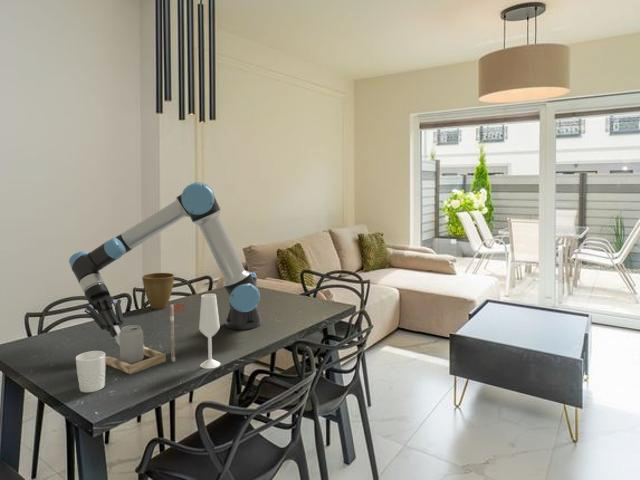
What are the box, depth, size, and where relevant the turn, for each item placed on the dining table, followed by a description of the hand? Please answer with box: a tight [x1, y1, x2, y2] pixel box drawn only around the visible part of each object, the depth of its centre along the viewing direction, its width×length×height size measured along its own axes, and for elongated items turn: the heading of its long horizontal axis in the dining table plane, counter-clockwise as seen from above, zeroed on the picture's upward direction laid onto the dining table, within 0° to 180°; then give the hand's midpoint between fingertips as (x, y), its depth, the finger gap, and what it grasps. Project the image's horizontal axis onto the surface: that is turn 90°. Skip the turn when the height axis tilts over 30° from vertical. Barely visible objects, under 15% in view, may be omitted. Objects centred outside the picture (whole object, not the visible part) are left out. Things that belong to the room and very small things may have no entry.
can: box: [119, 324, 145, 365], centre depth 153 cm, size 8×8×12 cm
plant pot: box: [141, 272, 175, 310], centre depth 221 cm, size 15×15×16 cm
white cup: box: [75, 350, 106, 393], centre depth 133 cm, size 8×8×10 cm
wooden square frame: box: [105, 301, 185, 375], centre depth 154 cm, size 23×23×20 cm
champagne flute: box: [198, 293, 221, 369], centre depth 150 cm, size 7×7×24 cm
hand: (122, 342), depth 156 cm, fingers closed
